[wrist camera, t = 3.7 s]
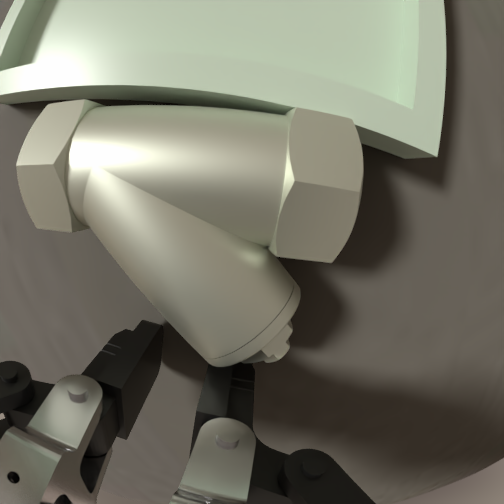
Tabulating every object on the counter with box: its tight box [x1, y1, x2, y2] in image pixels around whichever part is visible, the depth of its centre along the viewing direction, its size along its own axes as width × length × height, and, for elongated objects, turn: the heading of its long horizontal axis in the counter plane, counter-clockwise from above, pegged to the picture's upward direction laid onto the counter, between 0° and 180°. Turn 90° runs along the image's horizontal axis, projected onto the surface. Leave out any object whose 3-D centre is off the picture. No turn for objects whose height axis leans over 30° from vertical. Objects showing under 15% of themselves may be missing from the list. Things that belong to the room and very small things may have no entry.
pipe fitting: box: [16, 99, 364, 367], centre depth 7 cm, size 8×4×7 cm
